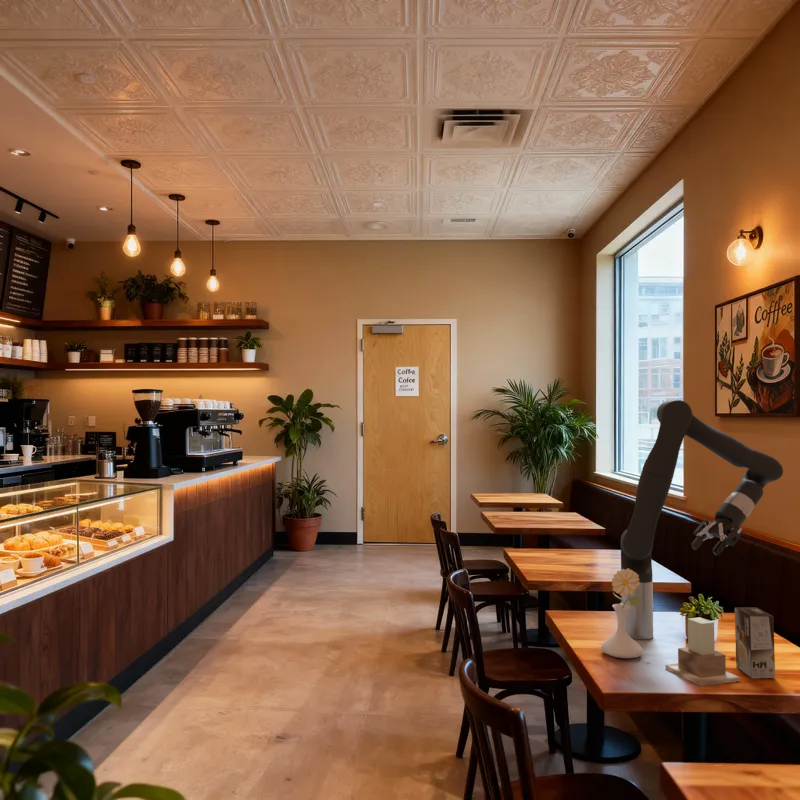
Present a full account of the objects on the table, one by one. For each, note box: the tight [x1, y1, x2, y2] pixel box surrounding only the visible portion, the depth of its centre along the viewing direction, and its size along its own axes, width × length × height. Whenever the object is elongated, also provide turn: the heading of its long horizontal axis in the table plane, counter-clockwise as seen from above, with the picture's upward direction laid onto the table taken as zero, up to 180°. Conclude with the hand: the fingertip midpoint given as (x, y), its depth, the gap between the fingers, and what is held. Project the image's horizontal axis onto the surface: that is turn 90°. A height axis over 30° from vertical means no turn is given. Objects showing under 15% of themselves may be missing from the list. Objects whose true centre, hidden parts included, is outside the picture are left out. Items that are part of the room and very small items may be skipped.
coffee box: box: [734, 606, 776, 680], centre depth 175 cm, size 9×6×16 cm
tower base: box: [665, 646, 741, 687], centre depth 173 cm, size 13×12×6 cm
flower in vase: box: [600, 568, 644, 659], centre depth 188 cm, size 13×11×25 cm
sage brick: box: [687, 616, 716, 655], centre depth 174 cm, size 5×4×8 cm
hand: (703, 550), depth 194 cm, fingers open, 8 cm apart
